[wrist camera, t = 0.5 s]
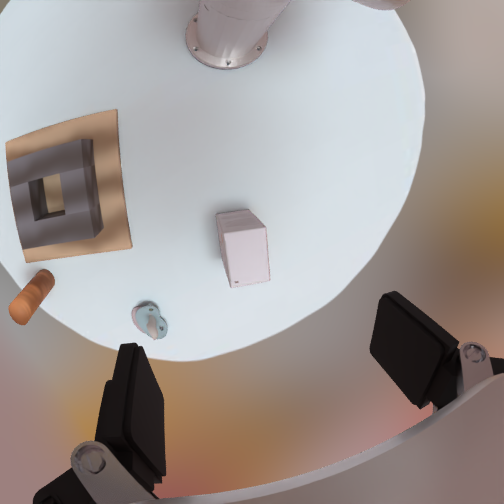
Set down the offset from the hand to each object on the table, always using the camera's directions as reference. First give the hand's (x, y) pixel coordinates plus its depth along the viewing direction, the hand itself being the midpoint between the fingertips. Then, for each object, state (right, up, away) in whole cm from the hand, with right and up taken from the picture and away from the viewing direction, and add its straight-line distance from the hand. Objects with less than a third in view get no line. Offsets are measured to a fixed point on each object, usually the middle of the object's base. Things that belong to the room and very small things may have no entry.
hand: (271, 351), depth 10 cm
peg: (-38, -1, +30) cm, 49 cm away
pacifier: (-20, -8, +38) cm, 44 cm away
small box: (-4, +7, +36) cm, 37 cm away
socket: (-31, +14, +26) cm, 43 cm away
